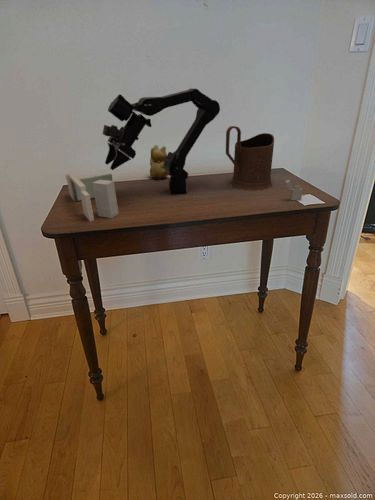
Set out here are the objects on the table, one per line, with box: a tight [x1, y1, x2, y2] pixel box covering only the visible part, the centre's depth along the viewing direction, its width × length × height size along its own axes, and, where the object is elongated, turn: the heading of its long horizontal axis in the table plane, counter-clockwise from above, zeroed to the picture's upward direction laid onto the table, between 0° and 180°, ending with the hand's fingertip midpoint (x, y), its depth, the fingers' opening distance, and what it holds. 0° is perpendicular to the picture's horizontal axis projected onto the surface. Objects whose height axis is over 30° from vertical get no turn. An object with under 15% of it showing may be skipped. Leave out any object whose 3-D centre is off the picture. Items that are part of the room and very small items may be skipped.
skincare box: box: [92, 180, 119, 219], centre depth 106 cm, size 6×4×12 cm
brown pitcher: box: [225, 125, 275, 192], centre depth 129 cm, size 18×24×25 cm
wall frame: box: [65, 172, 95, 222], centre depth 114 cm, size 32×2×11 cm, turn 30°
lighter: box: [284, 178, 304, 202], centre depth 115 cm, size 7×2×8 cm, turn 101°
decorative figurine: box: [149, 144, 169, 180], centre depth 145 cm, size 10×8×15 cm
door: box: [71, 173, 114, 202], centre depth 124 cm, size 16×2×8 cm, turn 120°
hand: (108, 166), depth 113 cm, fingers open, 9 cm apart
